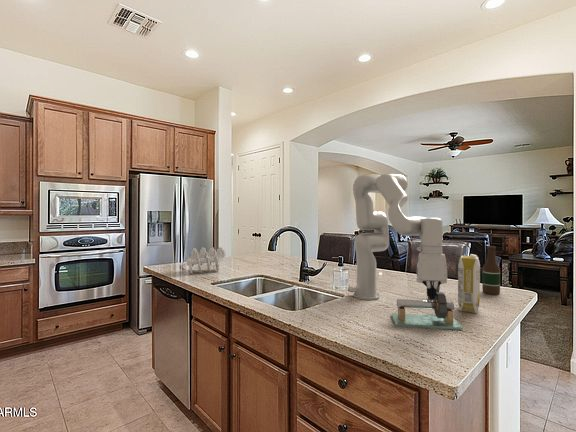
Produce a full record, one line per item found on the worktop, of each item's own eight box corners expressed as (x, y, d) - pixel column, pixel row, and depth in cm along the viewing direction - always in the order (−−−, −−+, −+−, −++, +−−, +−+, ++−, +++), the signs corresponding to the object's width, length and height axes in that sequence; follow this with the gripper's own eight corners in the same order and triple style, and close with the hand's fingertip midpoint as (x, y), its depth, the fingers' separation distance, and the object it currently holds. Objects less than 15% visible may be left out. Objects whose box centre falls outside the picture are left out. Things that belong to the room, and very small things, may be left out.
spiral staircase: (186, 278, 222) (222, 273, 233) (190, 271, 207) (228, 266, 219) (183, 253, 228) (217, 249, 239) (186, 245, 213) (223, 241, 225)
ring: (439, 320, 118) (439, 296, 118) (433, 312, 127) (433, 290, 126) (447, 321, 117) (447, 296, 117) (440, 313, 126) (440, 290, 126)
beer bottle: (483, 294, 162) (484, 246, 161) (481, 290, 169) (481, 245, 169) (501, 295, 159) (502, 247, 158) (498, 291, 166) (498, 245, 166)
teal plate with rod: (395, 326, 119) (395, 302, 119) (391, 315, 131) (391, 294, 131) (462, 330, 115) (462, 306, 115) (452, 318, 127) (452, 296, 127)
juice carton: (479, 314, 132) (479, 256, 131) (457, 311, 136) (457, 254, 135) (479, 308, 139) (480, 253, 139) (459, 305, 144) (459, 252, 143)
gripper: (412, 251, 120) (412, 300, 120) (455, 251, 117) (455, 301, 117) (408, 248, 127) (408, 294, 127) (449, 249, 124) (449, 296, 125)
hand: (431, 298), depth 122 cm, fingers closed
